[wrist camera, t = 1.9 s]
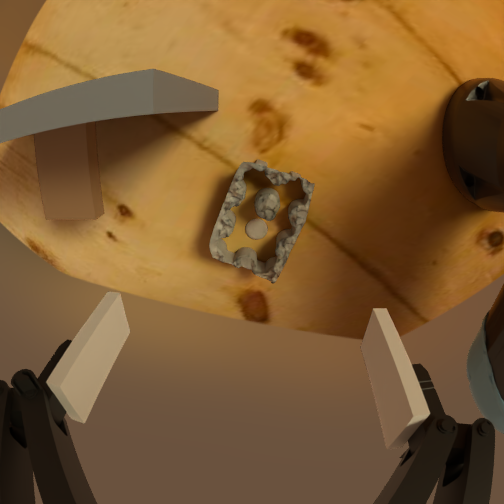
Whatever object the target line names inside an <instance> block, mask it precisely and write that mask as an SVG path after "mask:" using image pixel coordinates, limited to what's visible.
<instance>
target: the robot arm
mask: <svg viewBox="0 0 504 504" xmlns="http://www.w3.org/2000/svg"><path fill="white" fill-rule="evenodd" d="M442 140H443V152H444V158H445V162H446V166H447V169H448V172H449V174H450V177H451V179H452V181H453V183H454V184H455V186H456V187H457V189H458V190H459V191H460V193H461V194H462V195H463V196H464V197H465V198H467V199H468V200H470V201H471V202H473V203H474V204H476V205H478V206H479V207H481V208H483V209H486V210H489V211H494V212H504V81H502V80H499V79H494V78H477V79H472V80H470V81H468V82H466V83H464V84H463V85H462V86H461V87H460V88H459V89H458V90H457V91H456V92H455V93H454V95H453V97H452V98H451V100H450V102H449V105H448V107H447V110H446V113H445V118H444V123H443V136H442ZM129 333H130V329H129V325H128V322H127V318H126V315H125V311H124V307H123V303H122V299H121V295H120V293H116V292H107V294H106V295H105V296H104V298H103V299H102V300H101V302H100V303H99V304H98V306H97V307H96V309H95V310H94V311H93V313H92V314H91V315H90V317H89V318H88V320H87V321H86V322H85V324H84V325H83V327H82V328H81V330H80V331H79V332H78V334H77V335H76V337H75V338H74V340H73V341H71V340H66V341H65V342H64V343H63V344H61V345H60V346H59V347H58V349H57V350H56V352H55V355H53V356H52V358H51V360H50V361H49V362H48V364H47V365H46V367H45V368H44V370H43V371H42V373H41V374H40V376H39V377H38V379H37V378H36V376H35V374H34V373H33V372H32V371H31V370H28V369H22V370H20V371H18V372H17V373H15V374H14V376H13V377H12V379H11V384H12V386H13V387H14V388H10V387H9V386H8V384H7V383H6V382H5V381H3V380H0V504H35V496H34V483H33V472H34V475H35V479H36V482H37V486H38V489H39V492H40V495H41V498H42V501H43V504H97V502H96V500H95V498H94V496H93V493H92V491H91V489H90V487H89V484H88V482H87V480H86V477H85V475H84V472H83V470H82V467H81V464H80V462H79V459H78V457H77V453H76V451H75V448H74V445H73V442H72V439H71V435H70V432H69V429H68V426H67V422H66V420H65V418H64V416H65V414H66V412H67V414H68V415H69V416H70V418H71V419H73V420H76V421H79V422H82V423H85V421H86V419H87V417H88V415H89V413H90V411H91V409H92V406H93V404H94V402H95V400H96V398H97V396H98V394H99V392H100V390H101V388H102V386H103V384H104V381H105V380H106V377H107V375H108V374H109V371H110V370H111V367H112V366H113V364H114V362H115V360H116V358H117V356H118V354H119V352H120V350H121V348H122V346H123V344H124V343H125V340H126V339H127V337H128V335H129ZM361 351H362V354H363V357H364V361H365V365H366V368H367V372H368V375H369V379H370V383H371V386H372V390H373V394H374V398H375V401H376V405H377V410H378V414H379V418H380V422H381V426H382V431H383V435H384V439H385V444H386V449H393V448H399V447H402V446H403V445H404V444H405V443H406V442H407V441H408V443H409V448H408V449H407V451H405V452H404V454H403V455H402V456H401V457H400V458H402V460H401V462H400V463H399V465H398V467H397V468H396V470H395V472H394V473H393V475H392V476H391V478H390V480H389V481H388V483H387V484H386V486H385V487H384V489H383V490H382V492H381V493H380V495H379V496H378V498H377V499H376V500H375V502H374V503H373V504H426V502H427V500H428V498H429V497H430V495H431V493H432V491H433V489H434V487H435V485H436V483H437V481H438V478H439V481H438V485H437V489H436V493H435V497H434V502H433V504H489V500H490V494H491V485H492V477H493V466H494V450H495V449H494V448H495V429H496V430H498V431H499V432H501V433H503V434H504V284H503V286H502V288H501V290H500V292H499V294H498V296H497V298H496V300H495V302H494V304H493V306H492V308H491V310H490V311H489V312H488V313H487V315H486V316H485V317H484V319H483V322H482V327H481V329H480V330H479V332H478V334H477V336H476V338H475V339H474V341H473V343H472V345H471V347H470V350H469V353H468V358H467V377H468V379H469V382H470V386H469V387H470V390H471V393H472V396H473V399H474V401H475V403H476V405H477V407H478V409H479V410H480V412H481V414H482V415H483V416H484V418H479V419H477V420H476V421H475V422H474V423H473V424H459V423H456V421H455V420H454V419H453V418H452V417H451V416H448V415H446V414H445V412H444V410H443V408H442V405H441V402H440V400H439V397H438V395H437V393H436V390H435V389H434V385H433V383H432V382H431V378H430V376H429V374H428V371H427V370H426V369H425V368H424V367H423V366H422V365H421V364H412V365H411V362H410V360H409V357H408V355H407V353H406V350H405V348H404V346H403V344H402V341H401V339H400V337H399V334H398V332H397V330H396V328H395V326H394V323H393V321H392V319H391V317H390V315H389V313H388V311H387V308H373V310H372V314H371V317H370V320H369V323H368V326H367V329H366V332H365V335H364V338H363V341H362V344H361ZM494 428H495V429H494Z"/></svg>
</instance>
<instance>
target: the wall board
mask: <svg viewBox="0 0 504 504" xmlns="http://www.w3.org/2000/svg"><path fill="white" fill-rule="evenodd" d="M191 111H218V90H217V89H214V88H211V87H209V86H206V85H203V84H200V83H197V82H194V81H191V80H188V79H185V78H182V77H179V76H176V75H173V74H169V73H166V72H163V71H159V70H156V69H149V70H142V71H135V72H129V73H124V74H118V75H113V76H108V77H103V78H99V79H94V80H90V81H86V82H82V83H78V84H74V85H70V86H67V87H63V88H60V89H56V90H53V91H50V92H47V93H43V94H40V95H37V96H34V97H32V98H29V99H26V100H23V101H20V102H18V103H15V104H13V105H10V106H8V107H5V108H3V109H0V143H2V142H5V141H9V140H12V139H16V138H19V137H23V136H27V135H31V134H34V141H35V152H36V162H37V170H38V177H39V184H40V191H41V197H42V202H43V208H44V213H45V218H46V220H96V219H98V218H99V217H100V216H101V215H103V214H104V208H103V201H102V193H101V185H100V176H99V165H98V154H97V139H96V121H99V120H106V119H113V118H121V117H129V116H138V115H148V114H159V113H173V112H191Z"/></svg>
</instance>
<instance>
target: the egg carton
mask: <svg viewBox="0 0 504 504" xmlns="http://www.w3.org/2000/svg"><path fill="white" fill-rule="evenodd" d="M252 168H254V169H256V170H257V171H263V170H265V176H266V177H267V178H269V179H270V181H271V182H272V183H273V184H274V185H277V186H279V185H280V184H287V183H288V182H289V180H292V181H295V180H296V179H297V178H300V181H301V185H302V188H303V191H304V192H305V193H306V195H305V197H304V199H297V200H294V201H292V202H291V204H290V205H289V208H288V215H289V217H288V218H289V221H290V223H291V224H292V228H291V229H284V230H282V231H281V232H279V233H278V235H277V238H276V249H275V252H276V256H277V257H272V258H270V259H269V260H268V261H267V262H266V263H264V262H261V261H258V260H257V254H256V252H255V251H254V250H253V249H252V248H249V247H243V248H240V249H239V250H238V251H237V252H236V253H233V252H230V251H228V250H227V245H226V243H225V241H224V240H222V239H221V238H226V237H229V235H230V234H231V233H232V232H233V229H234V226H235V222H236V216H235V214H234V213H233V211H231V210H230V209H231V207H234V206H236V207H237V206H239V205H240V203H241V202H242V201H243V200H244V199H245V193H246V183H245V182H244V181H243V178H244V175H243V174H244V172H246V171H249V170H251V169H252ZM314 185H315V184H312V183H310V182H309V181H308V180H306V179H304V178H301V175H300V174H298V173H295V172H292V171H291V172H290V173H289V174H288V173H285V172H279V171H278V170H275V169H271V168H267V163H266V162H264V161H261V160H257V161H256V162H255V163H251V162H243V163H241V165H240V167H239V168H238V170H237V172H236V174H235V176H234V178H233V181H232V183H231V185H230V188H229V190H228V193H227V196H226V199H225V201H224V203H223V205H222V208H221V211H220V214H219V216H218V219H217V222H216V224H215V226H214V229H213V233H212V236H211V239H210V244H209V248H210V251H211V254H212V257H213V258H215V259H218V260H219V261H221V262H223V263H224V262H226V263H229V264H232V265H234V266H235V267H237V268H240V266H242V267H244V268H247V269H250V270H252V272H253V273H254V274H255V275H257V276H259V277H262V278H265V279H267V280H270V281H272V282H271V283H275V282H276V280H277V278H278V277H279V275H280V273H281V271H282V269H283V267H284V265H285V263H286V261H287V259H288V256H289V253H290V251H291V249H292V248H293V246H294V244H295V242H296V240H297V237H298V235H299V233H300V231H301V229H302V227H303V225H304V223H305V221H306V217H307V213H308V209H309V205H310V201H311V196H312V192H313V190H314ZM254 204H255V211H256V213H257V215H258V216H259V217H261V218H263V219H266V220H267V221H271V220H273V219H274V218H275V216H276V213H277V212H278V210H279V208H280V200H279V195H278V193H277V191H275V190H274V189H273V188H263V189H261V190H259V192H258V193H257V195H256V198H255V203H254ZM267 229H268V227H267V225H266V223H265V222H264V221H263V220H261V219H252V220H251V221H249V222H248V223H247V225H246V228H245V230H246V233H247V235H248V236H249V237H250V238H252V239H261V238H263V237H264V236H265V235H266V234H267V231H268V230H267Z"/></svg>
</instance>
